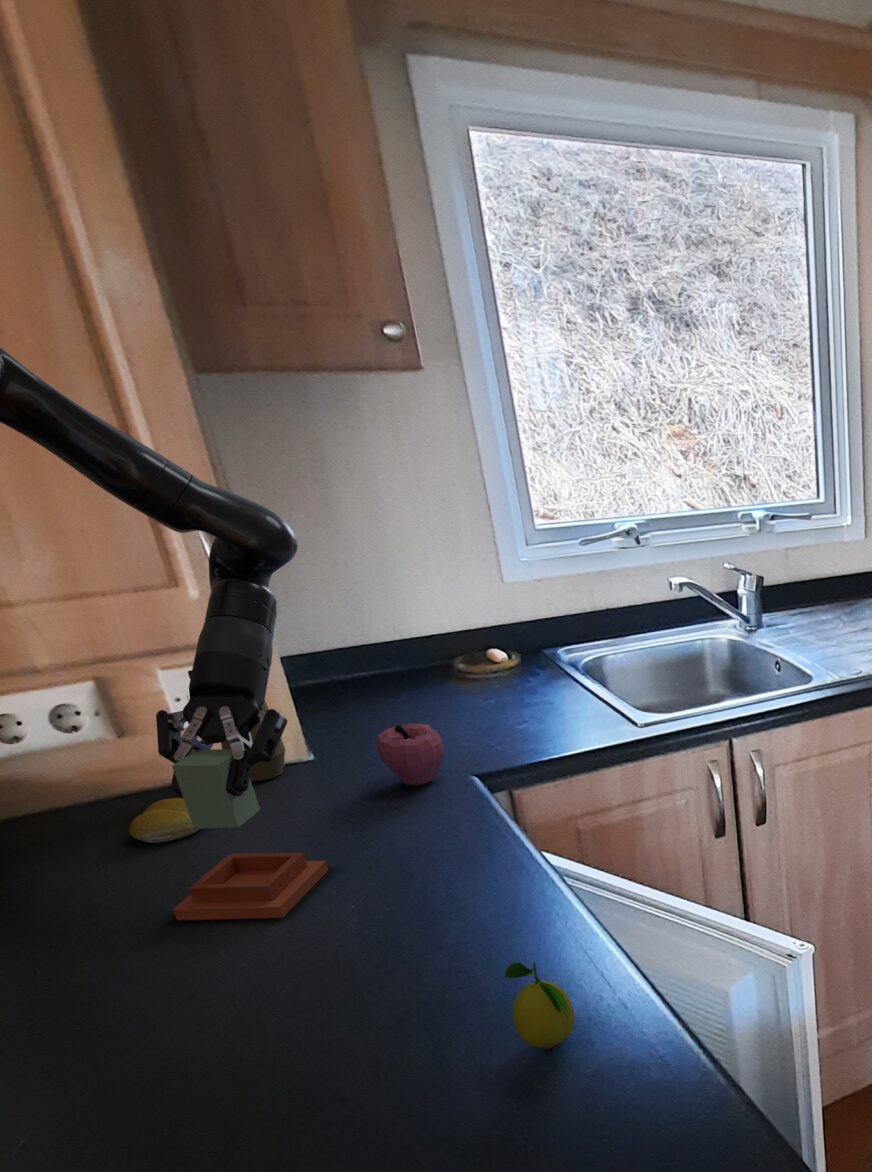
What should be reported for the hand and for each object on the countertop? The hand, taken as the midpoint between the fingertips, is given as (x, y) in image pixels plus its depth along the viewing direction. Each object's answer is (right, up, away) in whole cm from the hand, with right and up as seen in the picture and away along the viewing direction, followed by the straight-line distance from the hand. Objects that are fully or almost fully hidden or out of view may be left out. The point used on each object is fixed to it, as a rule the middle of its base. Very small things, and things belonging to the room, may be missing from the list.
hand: (208, 793), depth 122 cm
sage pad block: (0, -3, +4) cm, 5 cm away
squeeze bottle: (-21, +5, +41) cm, 47 cm away
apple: (+4, +4, +40) cm, 40 cm away
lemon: (+46, -26, -18) cm, 56 cm away
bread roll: (-22, -4, +24) cm, 33 cm away
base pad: (0, -12, +8) cm, 15 cm away
